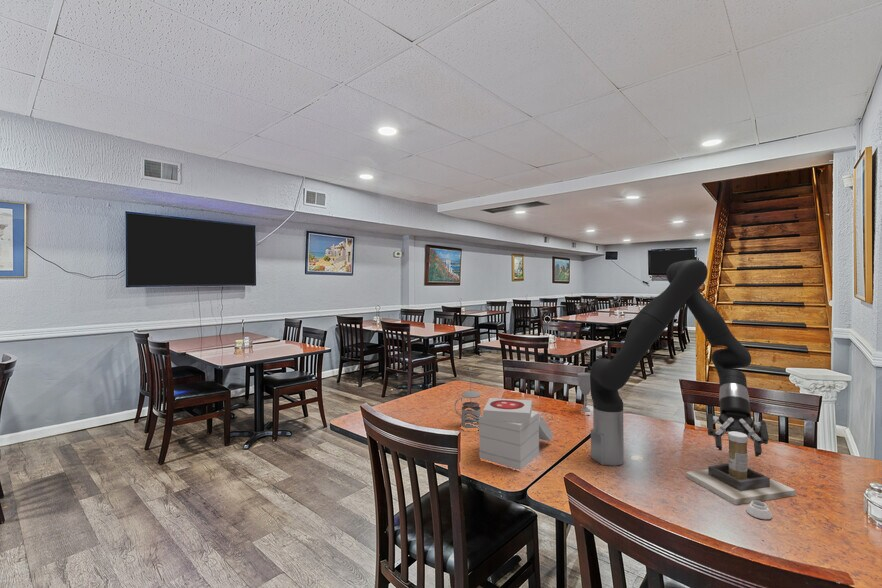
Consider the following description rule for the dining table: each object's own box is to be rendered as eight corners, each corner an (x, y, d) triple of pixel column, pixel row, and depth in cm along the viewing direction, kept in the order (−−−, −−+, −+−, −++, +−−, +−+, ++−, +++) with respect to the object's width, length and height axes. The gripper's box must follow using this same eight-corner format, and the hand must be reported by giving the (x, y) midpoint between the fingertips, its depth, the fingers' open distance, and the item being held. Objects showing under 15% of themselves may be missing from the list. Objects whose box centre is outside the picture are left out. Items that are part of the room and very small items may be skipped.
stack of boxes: (557, 444, 146) (557, 395, 146) (523, 476, 122) (522, 417, 122) (510, 434, 157) (509, 388, 157) (469, 461, 133) (469, 407, 133)
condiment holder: (735, 505, 105) (735, 489, 105) (685, 476, 120) (685, 463, 120) (795, 495, 109) (795, 480, 109) (740, 469, 125) (740, 456, 125)
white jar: (743, 508, 103) (750, 518, 99) (743, 496, 103) (750, 506, 99) (767, 511, 102) (775, 522, 97) (767, 500, 102) (775, 510, 97)
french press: (484, 432, 160) (483, 369, 160) (455, 432, 160) (454, 369, 160) (482, 423, 170) (481, 364, 169) (454, 423, 170) (454, 365, 170)
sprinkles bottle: (726, 475, 118) (725, 429, 118) (745, 478, 116) (744, 431, 116) (730, 482, 114) (730, 435, 113) (750, 485, 112) (749, 437, 112)
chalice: (594, 416, 177) (594, 376, 176) (578, 416, 178) (578, 375, 178) (592, 411, 184) (591, 372, 184) (576, 411, 185) (576, 372, 185)
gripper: (706, 392, 124) (708, 441, 115) (765, 398, 117) (772, 451, 107) (706, 404, 129) (707, 453, 119) (762, 411, 122) (769, 463, 112)
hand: (738, 452), depth 113 cm, fingers open, 8 cm apart
